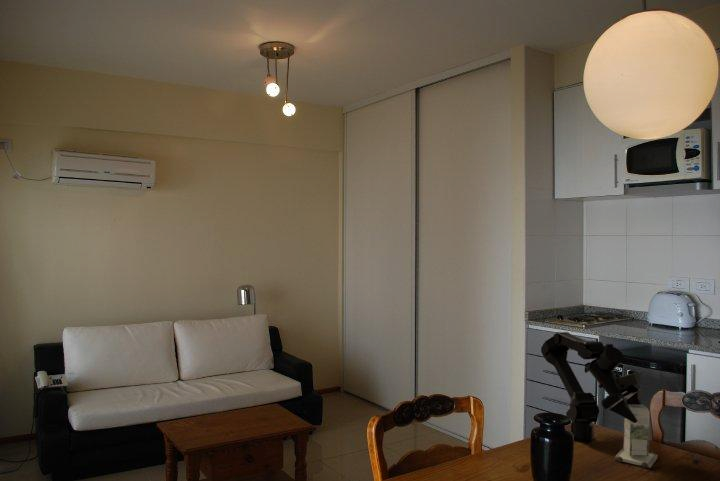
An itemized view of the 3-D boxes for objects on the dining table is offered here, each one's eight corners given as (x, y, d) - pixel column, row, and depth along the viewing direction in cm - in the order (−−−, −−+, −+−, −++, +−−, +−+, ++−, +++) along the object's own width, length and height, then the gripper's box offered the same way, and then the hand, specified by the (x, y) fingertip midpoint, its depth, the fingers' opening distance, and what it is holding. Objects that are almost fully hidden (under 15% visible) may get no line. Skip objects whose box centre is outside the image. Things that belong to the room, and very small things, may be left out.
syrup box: (642, 449, 184) (642, 403, 184) (649, 457, 178) (649, 410, 178) (623, 448, 185) (623, 403, 184) (629, 456, 179) (630, 409, 178)
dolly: (614, 461, 180) (614, 455, 180) (623, 450, 189) (623, 445, 189) (649, 469, 174) (649, 463, 174) (657, 458, 183) (657, 452, 183)
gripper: (612, 367, 177) (650, 411, 169) (635, 357, 190) (671, 398, 183) (586, 387, 183) (621, 431, 175) (610, 377, 196) (644, 417, 188)
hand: (641, 419), depth 180 cm, fingers closed on syrup box, 7 cm apart
